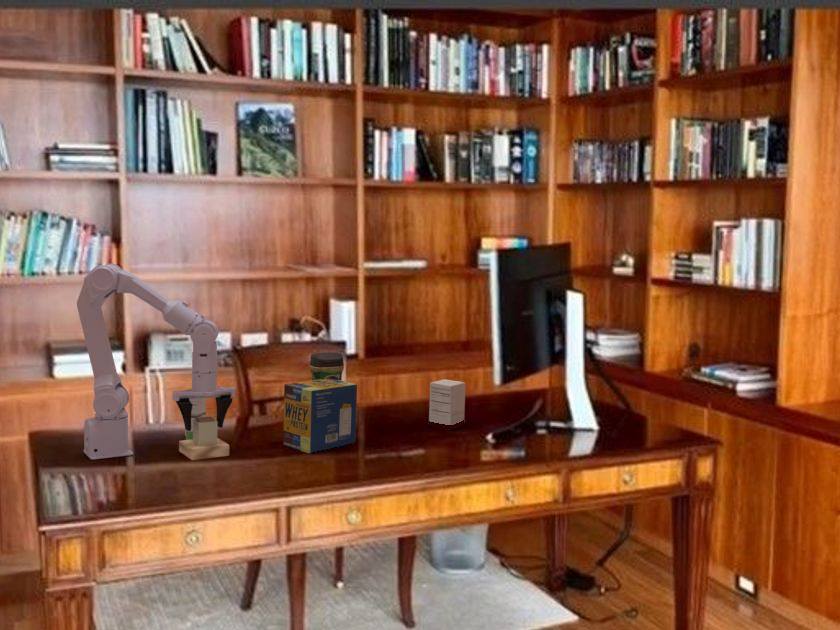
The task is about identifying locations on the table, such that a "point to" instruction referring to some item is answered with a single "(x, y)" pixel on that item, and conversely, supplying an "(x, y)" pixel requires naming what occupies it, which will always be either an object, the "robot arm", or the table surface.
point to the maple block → (203, 449)
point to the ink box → (196, 414)
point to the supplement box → (447, 402)
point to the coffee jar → (326, 365)
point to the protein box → (319, 414)
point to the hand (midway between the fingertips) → (203, 428)
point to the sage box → (205, 431)
